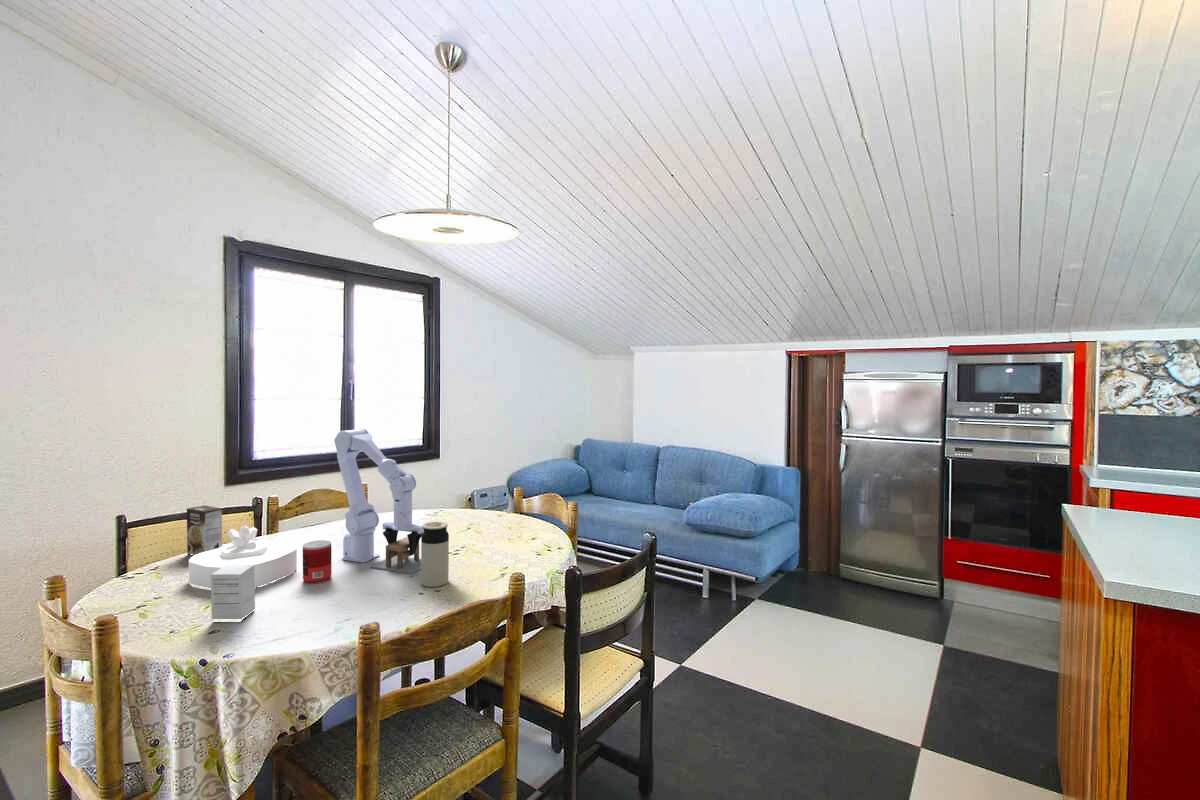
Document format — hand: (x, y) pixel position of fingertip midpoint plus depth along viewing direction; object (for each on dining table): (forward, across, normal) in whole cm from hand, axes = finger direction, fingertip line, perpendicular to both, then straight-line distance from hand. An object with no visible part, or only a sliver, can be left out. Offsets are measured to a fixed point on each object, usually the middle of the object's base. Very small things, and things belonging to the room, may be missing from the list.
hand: (402, 552), depth 192 cm
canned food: (+4, -16, -20) cm, 26 cm away
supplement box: (+4, -15, -49) cm, 51 cm away
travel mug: (+4, +19, -10) cm, 22 cm away
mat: (+4, 0, 0) cm, 4 cm away
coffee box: (+4, -69, -15) cm, 71 cm away
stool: (+4, 0, 0) cm, 4 cm away
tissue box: (+5, -39, -26) cm, 47 cm away
